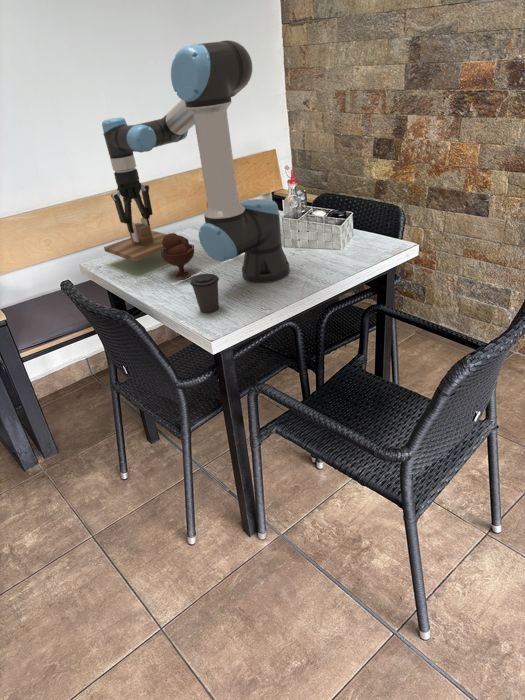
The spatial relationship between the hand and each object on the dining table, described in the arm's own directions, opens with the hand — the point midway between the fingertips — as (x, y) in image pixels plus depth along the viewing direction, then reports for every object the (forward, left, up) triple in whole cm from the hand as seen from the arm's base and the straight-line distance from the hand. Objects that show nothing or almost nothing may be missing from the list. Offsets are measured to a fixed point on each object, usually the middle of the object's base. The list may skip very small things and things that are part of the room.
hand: (142, 239), depth 183 cm
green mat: (0, 0, -9) cm, 9 cm away
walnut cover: (0, 0, -3) cm, 3 cm away
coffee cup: (-49, +10, -9) cm, 50 cm away
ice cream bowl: (-22, 0, -9) cm, 23 cm away
